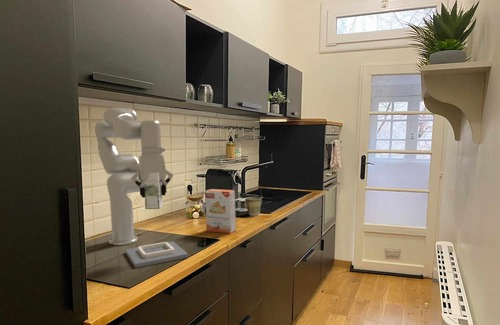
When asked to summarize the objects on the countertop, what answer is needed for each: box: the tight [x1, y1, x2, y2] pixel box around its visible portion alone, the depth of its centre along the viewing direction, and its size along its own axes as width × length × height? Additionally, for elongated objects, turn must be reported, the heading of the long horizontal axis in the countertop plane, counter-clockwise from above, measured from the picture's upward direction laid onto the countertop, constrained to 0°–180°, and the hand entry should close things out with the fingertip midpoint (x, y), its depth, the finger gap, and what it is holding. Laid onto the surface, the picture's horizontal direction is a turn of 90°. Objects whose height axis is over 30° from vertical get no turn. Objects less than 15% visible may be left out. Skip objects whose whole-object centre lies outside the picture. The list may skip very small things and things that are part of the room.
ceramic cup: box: [245, 196, 263, 217], centre depth 209 cm, size 13×10×10 cm
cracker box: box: [204, 188, 237, 235], centre depth 171 cm, size 14×6×21 cm, turn 65°
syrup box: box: [144, 172, 164, 210], centre depth 136 cm, size 6×6×14 cm
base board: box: [125, 241, 189, 269], centre depth 137 cm, size 20×20×3 cm
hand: (153, 195), depth 136 cm, fingers closed on syrup box, 7 cm apart
